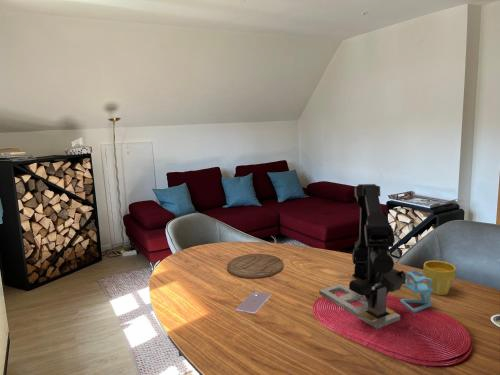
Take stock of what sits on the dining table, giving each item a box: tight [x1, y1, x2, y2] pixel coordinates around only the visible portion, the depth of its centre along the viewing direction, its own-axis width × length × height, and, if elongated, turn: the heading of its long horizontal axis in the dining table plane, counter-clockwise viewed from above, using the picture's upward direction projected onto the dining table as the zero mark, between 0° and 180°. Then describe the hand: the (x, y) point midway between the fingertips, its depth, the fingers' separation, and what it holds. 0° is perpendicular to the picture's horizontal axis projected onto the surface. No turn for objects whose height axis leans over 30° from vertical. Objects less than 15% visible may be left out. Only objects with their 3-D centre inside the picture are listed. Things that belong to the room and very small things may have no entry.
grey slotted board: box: [318, 283, 401, 330], centre depth 130 cm, size 10×28×2 cm, turn 28°
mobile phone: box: [236, 290, 271, 315], centre depth 136 cm, size 8×1×15 cm
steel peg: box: [368, 284, 387, 319], centre depth 121 cm, size 4×4×10 cm
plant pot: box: [422, 260, 457, 296], centre depth 137 cm, size 10×10×10 cm
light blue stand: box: [400, 270, 433, 313], centre depth 127 cm, size 8×8×12 cm
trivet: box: [226, 253, 285, 280], centre depth 168 cm, size 25×25×2 cm
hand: (376, 305), depth 122 cm, fingers closed on steel peg, 4 cm apart
